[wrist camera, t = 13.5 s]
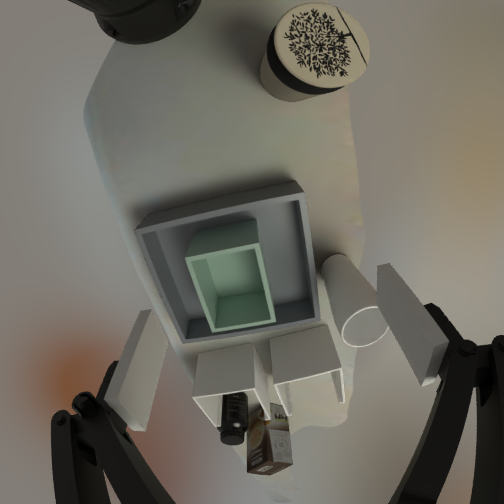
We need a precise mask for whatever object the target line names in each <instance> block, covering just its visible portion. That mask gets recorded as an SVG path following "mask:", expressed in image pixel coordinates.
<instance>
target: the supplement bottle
mask: <svg viewBox="0 0 504 504" xmlns="http://www.w3.org/2000/svg"><path fill="white" fill-rule="evenodd" d="M248 427H249V418H248V397H247V395H246V394H245V393H244V392H237V393H230V394H223V397H222V414H221V426H220V427H217V429H218V430H219V431H220V432H221V433H220V436H221V442H222V443H224V444H227V445H239V444H242V443H243V442H244V433H245V432H246V431H247V430H248Z"/></svg>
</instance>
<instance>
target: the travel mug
mask: <svg viewBox="0 0 504 504" xmlns="http://www.w3.org/2000/svg"><path fill="white" fill-rule="evenodd" d="M369 57H370V47H369V42H368V38H367V36H366V34H365V32H364V30H363V28H362V27H361V25H360V24H359V23H358V22H357V21H356V20H355V19H354V18H353V17H352V16H351V15H349V14H348V13H347V12H345V11H343V10H342V9H340V8H337V7H335V6H332V5H329V4H325V3H306V4H301V5H298V6H296V7H294V8H292V9H290V10H289V11H287V12H286V13H285V14H284V15H283V16H282V17H281V19H280V20H279V22H278V24H277V25H276V26H275V27H274V29H273V30H272V32H271V34H270V37H269V40H268V43H267V46H266V50H265V53H264V56H263V60H262V63H261V66H260V79H261V82H262V84H263V86H264V88H265V89H266V90H267V91H268V92H269V93H270V94H271V95H272V96H274V97H275V98H277V99H280V100H283V101H288V102H296V101H301V100H304V99H307V98H311V97H315V96H318V95H322V94H326V93H330V92H333V91H336V90H338V89H340V88H342V87H344V86H345V85H347V84H350V83H352V82H353V81H355V80H356V79H357V78H359V77H360V76H361V75H362V73H363V72H364V70H365V69H366V67H367V65H368V62H369Z"/></svg>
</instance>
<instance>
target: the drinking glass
mask: <svg viewBox="0 0 504 504" xmlns="http://www.w3.org/2000/svg"><path fill="white" fill-rule="evenodd" d="M321 276H322V278H323V281H324V284H325V287H326V291H327V295H328V299H329V303H330V307H331V311H332V315H333V318H334V321H335V324H336V326H337V329H338V331H339V333H340V335H341V338H342V340H343V341H344V342H345V343H346V344H347V345H349V346H352V347H364V346H368V345H370V344H372V343H374V342H376V341H378V340H379V339H380V338H381V337H382V336H383V335H384V334H385V333H386V332H387V330H388V328H389V325H388V324H387V322H386V320H385V318H384V317H383V315H382V313H381V312H380V310H379V308H378V306H377V305H376V301H377V292H376V291H375V289H374V288H373V287H372V286H371V284H370V283H369V282H368V281H367V280H366V279H365V277H364V276H363V275H362V274H361V273H360V272H359V270H358V269H357V268H356V267H355V266H354V264H353V263H352V261H351V260H350V259H349V258H348V257H347V256H345V255H341V254H336V255H332V256H330V257H329V258H327V259H326V260H325V261H324V263H323V265H322V267H321Z"/></svg>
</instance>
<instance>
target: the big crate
mask: <svg viewBox="0 0 504 504" xmlns="http://www.w3.org/2000/svg"><path fill="white" fill-rule="evenodd" d="M254 219H257V224H258V228H259V233H260V237H261V242H262V247H263V251H264V256H265V261H266V265H267V270H268V275H269V279H270V284H271V289H272V295H273V302H274V309H275V317H276V322H273V323H268V324H262V325H256V326H250V327H245V328H238V329H232V330H226V331H219V332H213V333H212V331H211V328H210V325H209V323H208V320H207V318H206V315H205V313H204V310H203V307H202V305H201V302H200V299H199V297H198V294H197V291H196V288H195V286H194V283H193V280H192V277H191V275H190V272H189V269H188V266H187V263H186V260H185V256H186V253H187V251H188V248H189V245H190V243H191V240H192V238H193V236H194V233H195V232H198V231H202V230H207V229H212V228H216V227H221V226H226V225H230V224H235V223H240V222H245V221H249V220H254ZM134 231H135V234H136V236H137V239H138V242H139V244H140V247H141V250H142V252H143V255H144V257H145V260H146V262H147V265H148V267H149V270H150V272H151V275H152V277H153V279H154V282H155V284H156V286H157V289H158V291H159V293H160V296H161V298H162V300H163V303H164V305H165V307H166V309H167V311H168V314H169V316H170V318H171V320H172V322H173V324H174V327H175V329H176V331H177V333H178V335H179V337H180V339H181V341H182V343H183V344H184V343H192V342H200V341H207V340H215V339H221V338H228V337H235V336H241V335H247V334H253V333H259V332H265V331H270V330H276V329H281V328H286V327H291V326H296V325H301V324H306V323H311V322H316V321H320V320H321V319H320V308H319V298H318V289H317V280H316V271H315V263H314V255H313V247H312V240H311V232H310V225H309V218H308V212H307V205H306V199H305V192H304V191H303V189H302V188H301V187H300V186H299V184H298V183H297V182H296V181H295V182H290V183H284V184H279V185H274V186H269V187H264V188H259V189H254V190H250V191H245V192H240V193H236V194H231V195H227V196H222V197H218V198H213V199H209V200H205V201H201V202H196V203H192V204H188V205H184V206H180V207H176V208H172V209H168V210H164V211H160V212H157V213H153V214H149V215H147V216H146V217H145V218H144V220H143V221H142V222H141V223H140V224H139V225H138V226H137V228H136V229H135V230H134Z"/></svg>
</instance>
